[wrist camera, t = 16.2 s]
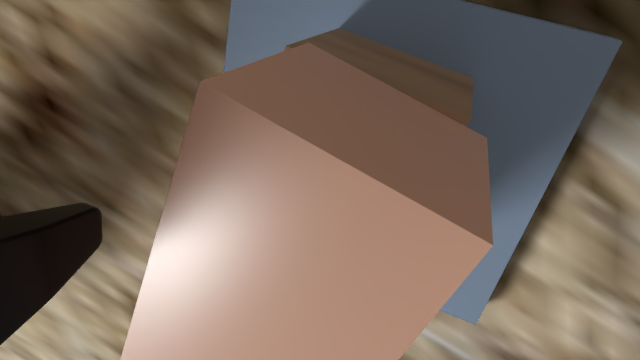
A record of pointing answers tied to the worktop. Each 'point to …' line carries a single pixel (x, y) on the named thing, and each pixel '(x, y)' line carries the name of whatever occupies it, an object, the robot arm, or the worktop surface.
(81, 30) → the worktop surface
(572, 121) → the base plate
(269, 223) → the terracotta block
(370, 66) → the walnut block
